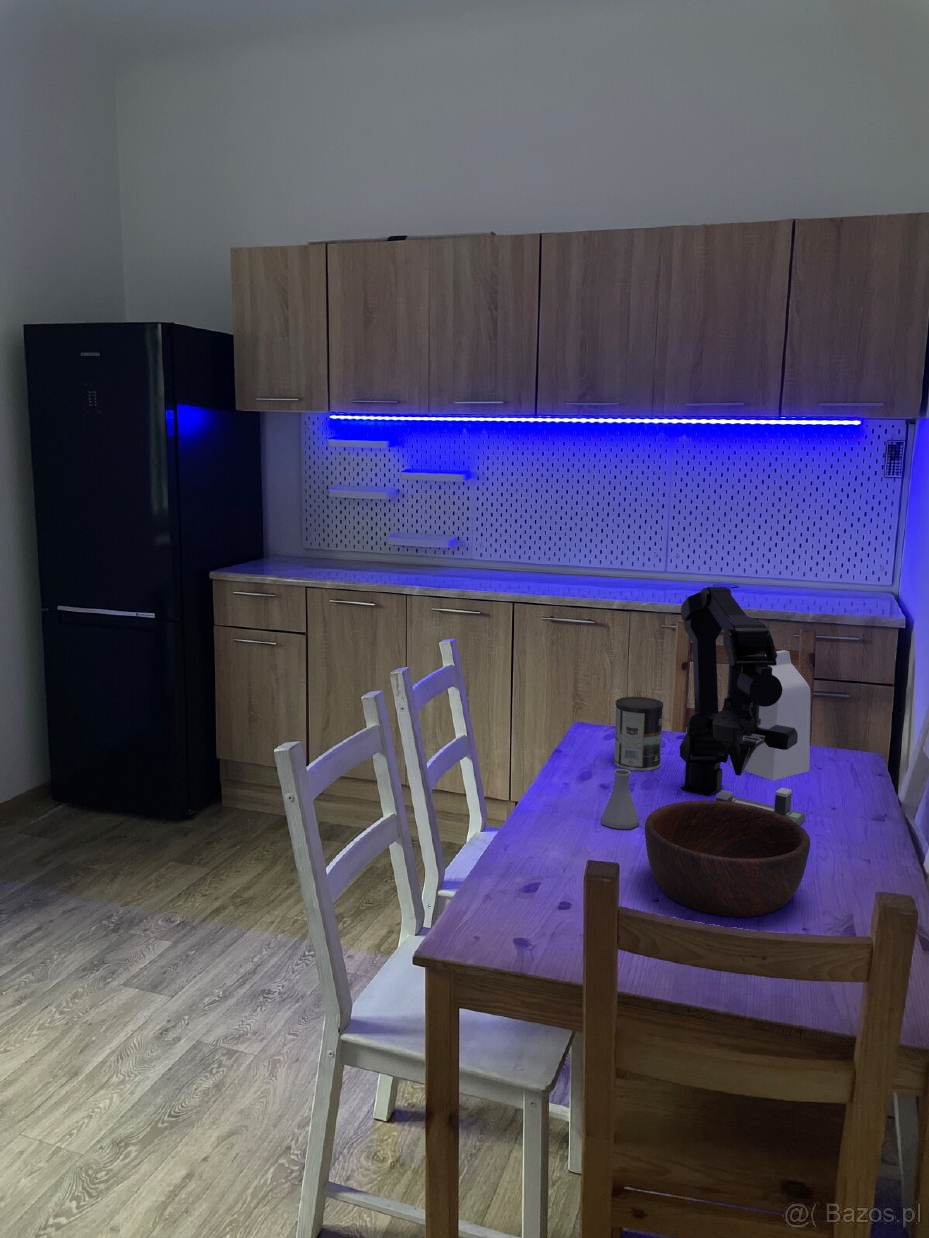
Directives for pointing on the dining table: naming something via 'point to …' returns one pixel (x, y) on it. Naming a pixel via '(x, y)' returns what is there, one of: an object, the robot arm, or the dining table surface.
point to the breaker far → (783, 801)
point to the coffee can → (638, 733)
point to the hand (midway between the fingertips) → (738, 775)
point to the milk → (785, 713)
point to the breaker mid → (724, 796)
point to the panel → (792, 814)
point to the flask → (620, 804)
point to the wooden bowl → (726, 856)
